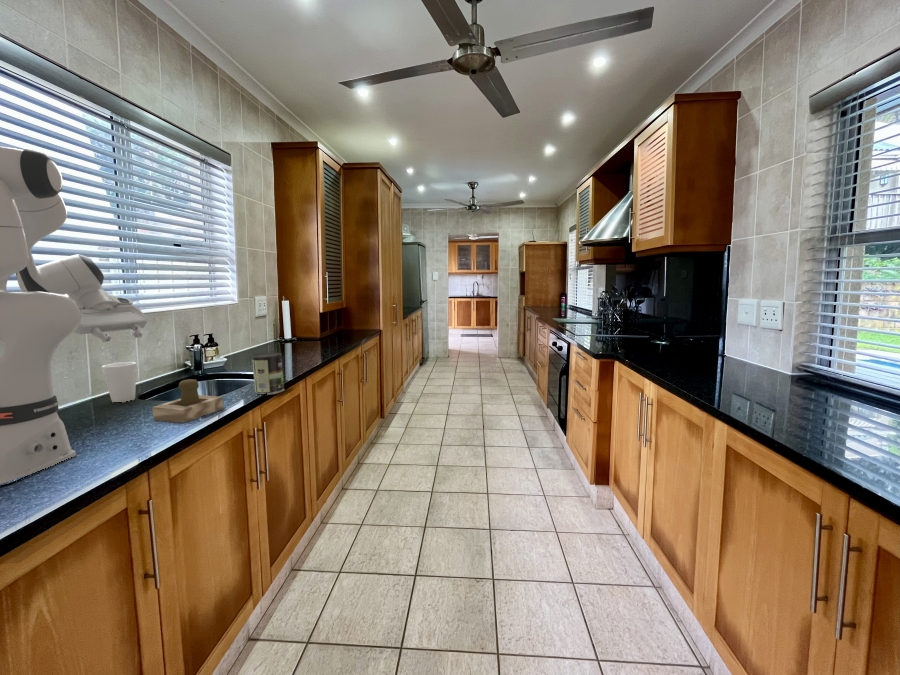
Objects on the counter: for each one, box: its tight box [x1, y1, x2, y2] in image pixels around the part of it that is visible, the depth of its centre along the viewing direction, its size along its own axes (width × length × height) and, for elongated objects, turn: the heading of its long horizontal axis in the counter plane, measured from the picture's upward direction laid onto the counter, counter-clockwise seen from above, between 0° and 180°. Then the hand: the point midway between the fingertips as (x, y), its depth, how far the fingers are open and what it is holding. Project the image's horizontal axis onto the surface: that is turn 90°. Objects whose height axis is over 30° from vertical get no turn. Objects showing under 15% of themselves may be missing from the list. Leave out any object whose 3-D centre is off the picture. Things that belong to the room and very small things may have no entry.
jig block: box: [151, 394, 224, 423], centre depth 127 cm, size 14×12×4 cm
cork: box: [178, 378, 200, 406], centre depth 126 cm, size 6×6×11 cm
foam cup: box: [101, 361, 138, 403], centre depth 144 cm, size 10×9×13 cm
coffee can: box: [251, 352, 285, 396], centre depth 152 cm, size 10×10×14 cm
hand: (124, 338), depth 128 cm, fingers open, 8 cm apart
